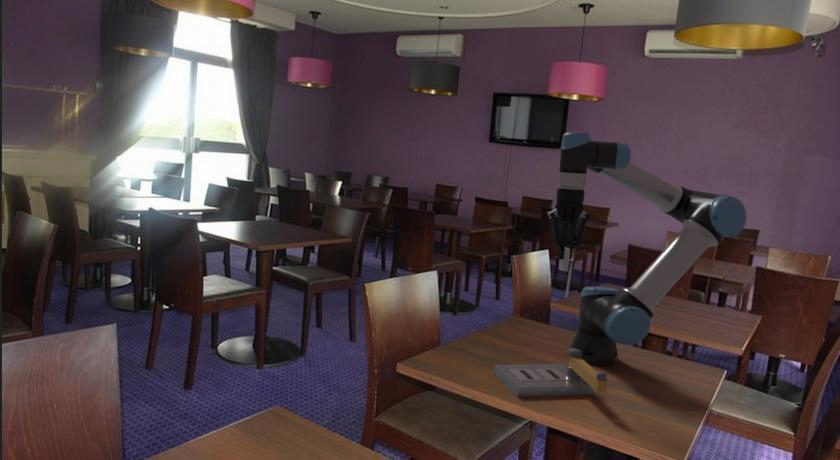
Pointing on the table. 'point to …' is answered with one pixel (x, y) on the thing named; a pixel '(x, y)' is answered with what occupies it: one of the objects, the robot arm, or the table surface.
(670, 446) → the table surface
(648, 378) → the table surface
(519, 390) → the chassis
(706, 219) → the robot arm
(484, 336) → the table surface
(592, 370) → the yellow wooden bar
